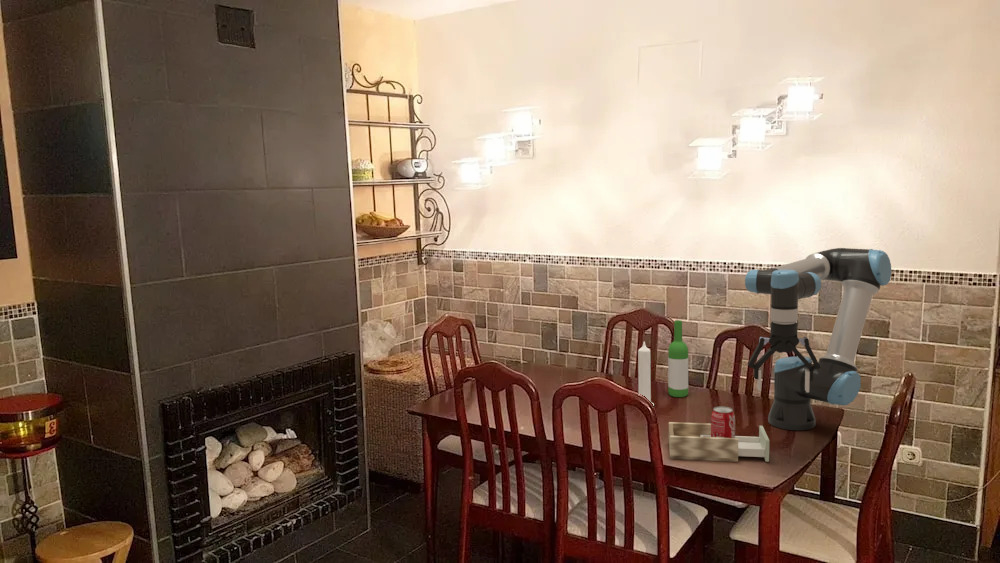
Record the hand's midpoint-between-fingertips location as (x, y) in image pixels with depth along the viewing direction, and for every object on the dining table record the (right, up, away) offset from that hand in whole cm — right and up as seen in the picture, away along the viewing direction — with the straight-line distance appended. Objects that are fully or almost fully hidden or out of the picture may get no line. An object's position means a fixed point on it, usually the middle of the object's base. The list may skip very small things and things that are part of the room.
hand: (782, 390), depth 216 cm
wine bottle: (-15, -12, +67) cm, 70 cm away
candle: (-31, -14, +55) cm, 65 cm away
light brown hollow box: (-22, -20, +7) cm, 31 cm away
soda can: (-16, -19, +6) cm, 25 cm away
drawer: (-13, -20, +6) cm, 25 cm away
